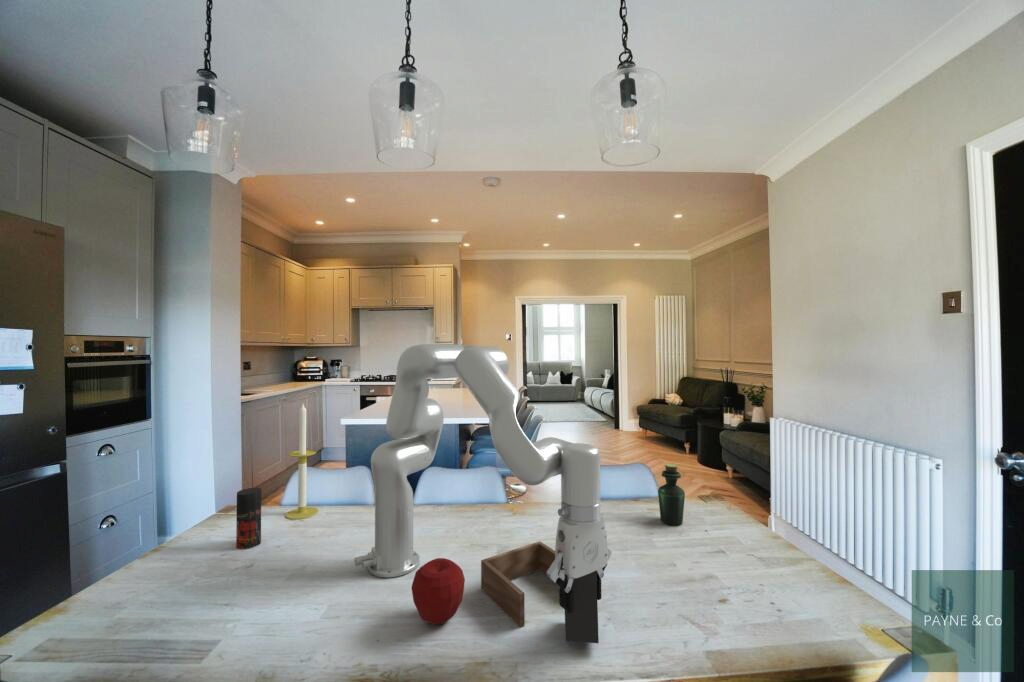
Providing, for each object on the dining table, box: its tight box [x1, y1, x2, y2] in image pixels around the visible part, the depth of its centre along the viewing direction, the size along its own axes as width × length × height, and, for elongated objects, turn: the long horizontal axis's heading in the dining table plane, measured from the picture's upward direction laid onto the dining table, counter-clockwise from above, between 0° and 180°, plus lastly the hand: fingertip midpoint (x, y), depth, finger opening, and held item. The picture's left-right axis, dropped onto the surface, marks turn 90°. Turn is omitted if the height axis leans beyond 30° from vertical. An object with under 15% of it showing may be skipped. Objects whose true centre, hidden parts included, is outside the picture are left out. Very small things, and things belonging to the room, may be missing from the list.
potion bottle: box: [657, 463, 686, 527], centre depth 132 cm, size 8×8×18 cm
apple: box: [411, 557, 466, 626], centre depth 85 cm, size 11×11×12 cm
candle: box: [284, 403, 319, 521], centre depth 139 cm, size 10×10×38 cm
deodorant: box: [235, 487, 262, 550], centre depth 117 cm, size 6×6×15 cm
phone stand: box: [564, 570, 600, 644], centre depth 80 cm, size 9×6×12 cm, turn 174°
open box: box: [480, 541, 565, 628], centre depth 93 cm, size 17×16×6 cm
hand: (580, 601), depth 80 cm, fingers closed on phone stand, 6 cm apart
